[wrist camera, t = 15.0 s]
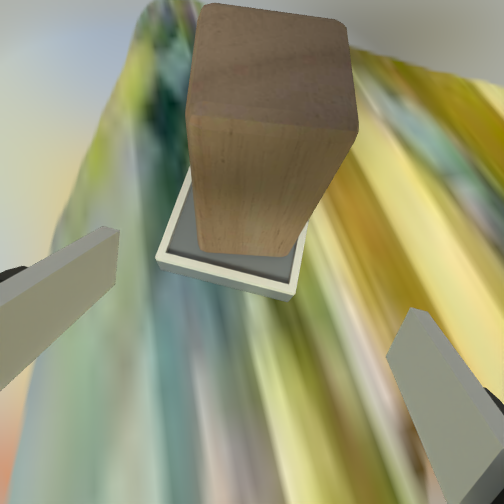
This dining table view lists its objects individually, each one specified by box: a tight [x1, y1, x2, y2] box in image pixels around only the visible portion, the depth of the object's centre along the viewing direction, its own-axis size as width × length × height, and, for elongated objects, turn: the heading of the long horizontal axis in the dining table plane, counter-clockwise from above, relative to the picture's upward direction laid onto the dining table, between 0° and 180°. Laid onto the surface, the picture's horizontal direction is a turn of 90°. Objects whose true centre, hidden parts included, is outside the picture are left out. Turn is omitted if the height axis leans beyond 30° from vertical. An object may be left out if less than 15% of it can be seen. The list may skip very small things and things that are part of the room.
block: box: [185, 3, 359, 257], centre depth 28 cm, size 10×10×20 cm
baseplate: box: [155, 167, 309, 302], centre depth 39 cm, size 15×15×4 cm
